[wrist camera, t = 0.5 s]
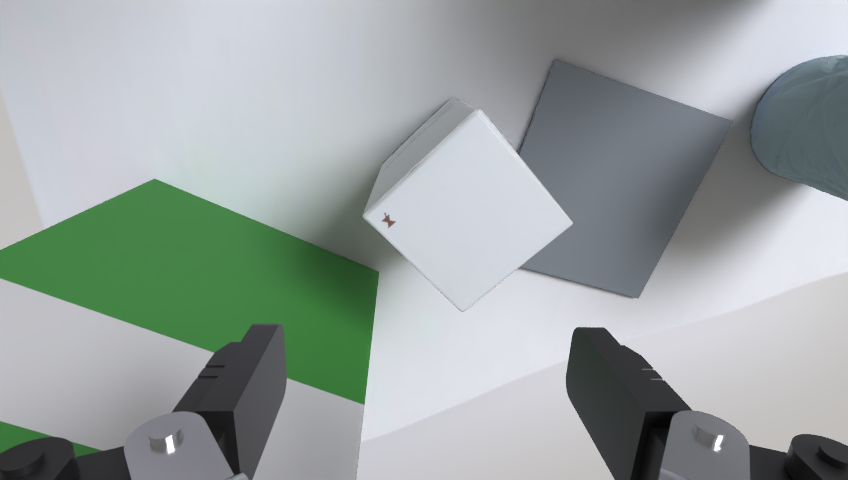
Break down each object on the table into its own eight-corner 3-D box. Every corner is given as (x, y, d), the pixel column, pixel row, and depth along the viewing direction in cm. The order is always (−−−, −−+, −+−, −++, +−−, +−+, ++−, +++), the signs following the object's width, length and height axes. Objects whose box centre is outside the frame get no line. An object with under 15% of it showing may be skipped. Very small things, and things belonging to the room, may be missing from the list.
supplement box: (446, 234, 34) (459, 319, 23) (379, 163, 32) (354, 216, 21) (522, 170, 33) (579, 226, 21) (456, 92, 31) (477, 104, 19)
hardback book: (130, 263, 34) (-369, 629, 12) (154, 178, 32) (-405, 437, 10) (343, 343, 38) (260, 740, 16) (378, 272, 36) (340, 617, 13)
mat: (554, 59, 30) (556, 59, 30) (729, 120, 33) (732, 121, 32) (480, 254, 36) (481, 256, 35) (635, 296, 38) (638, 298, 37)
